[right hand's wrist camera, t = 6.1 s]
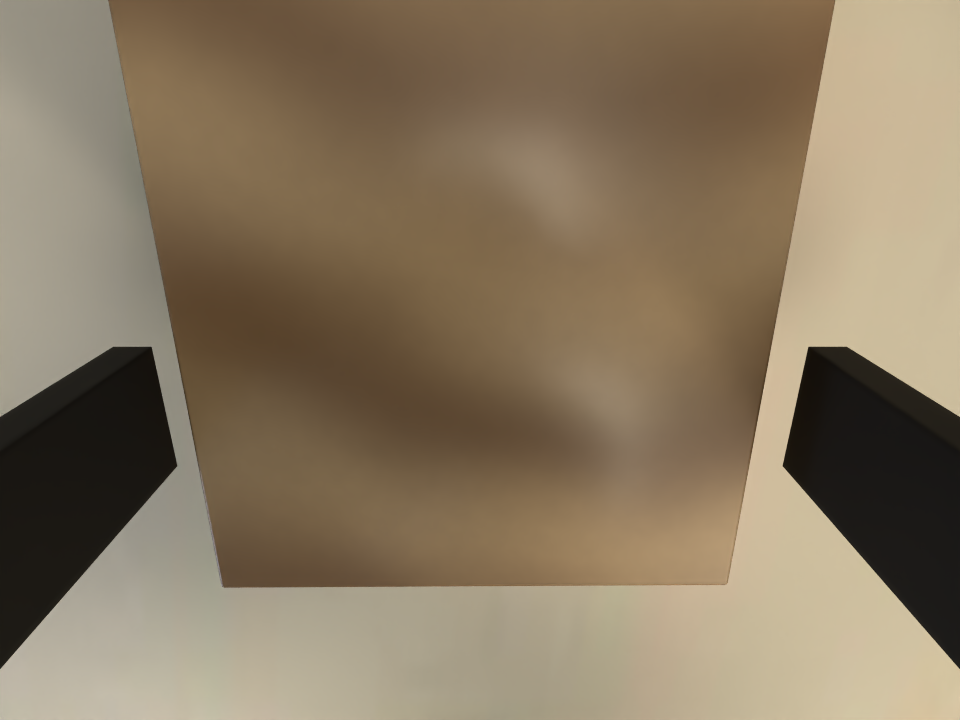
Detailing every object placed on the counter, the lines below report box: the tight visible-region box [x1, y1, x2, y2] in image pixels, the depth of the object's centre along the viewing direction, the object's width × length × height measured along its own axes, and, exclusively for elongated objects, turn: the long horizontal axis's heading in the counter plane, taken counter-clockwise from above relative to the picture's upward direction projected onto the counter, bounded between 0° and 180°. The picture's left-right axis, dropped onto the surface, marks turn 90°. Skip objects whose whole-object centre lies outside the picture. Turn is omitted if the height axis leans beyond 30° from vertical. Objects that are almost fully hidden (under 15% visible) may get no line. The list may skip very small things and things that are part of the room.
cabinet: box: [108, 0, 835, 588], centre depth 13 cm, size 20×11×10 cm, turn 0°
